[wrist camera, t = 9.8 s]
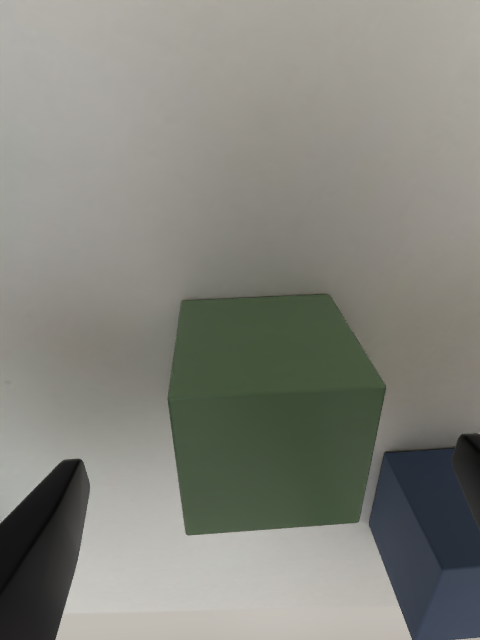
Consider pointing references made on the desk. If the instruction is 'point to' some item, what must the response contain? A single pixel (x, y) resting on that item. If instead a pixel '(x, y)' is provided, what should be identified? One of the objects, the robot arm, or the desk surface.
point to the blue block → (428, 544)
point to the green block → (271, 414)
